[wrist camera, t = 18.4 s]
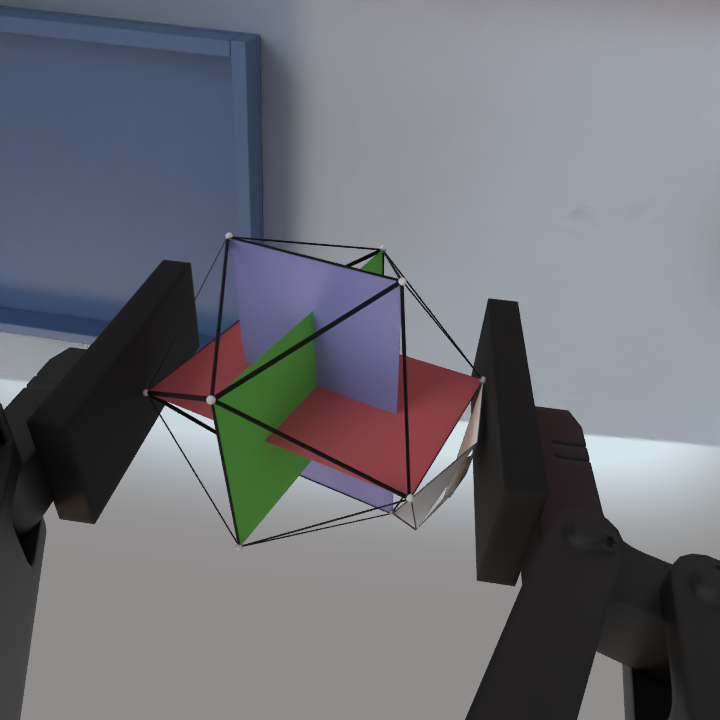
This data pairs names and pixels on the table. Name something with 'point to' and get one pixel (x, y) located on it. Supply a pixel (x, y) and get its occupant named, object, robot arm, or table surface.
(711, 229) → the table surface
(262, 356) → the wire icosahedron model
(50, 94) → the blue tray
